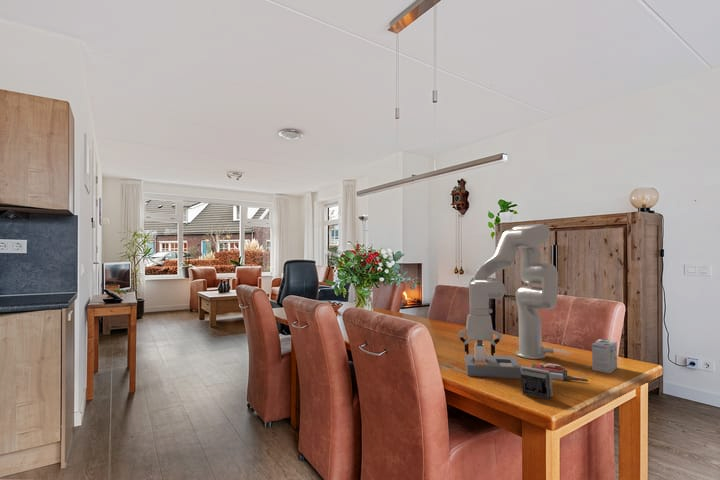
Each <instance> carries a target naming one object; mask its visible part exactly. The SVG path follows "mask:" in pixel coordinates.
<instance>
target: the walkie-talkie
mask: <svg viewBox="0 0 720 480" xmlns="http://www.w3.org/2000/svg"><path fill="white" fill-rule="evenodd" d="M531 368H536V369H541V370H547V371H549V372H550V373H551V380H556V381H558V380H559V381H564V380H569V381H577V382H579V381H580V382H586V383H587V382H589V380H588V378H582V377H581V378H580V377H573V376H568V370H567V369H566V368H565V367H562V365H561V364H557V363H550V362H548V363H546V364H543V362H541V363H540V364H538V363H537V364H536V363H533V364H532V366H531Z"/></svg>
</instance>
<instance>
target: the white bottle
mask: <svg viewBox="0 0 720 480" xmlns="http://www.w3.org/2000/svg"><path fill="white" fill-rule="evenodd" d="M473 348H474V355H475V361H478V362H486V355H487V354H486V353H487V350H486V348H487V347H486V345H485V344H483V341H479V340H476V343H474V347H473Z"/></svg>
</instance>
